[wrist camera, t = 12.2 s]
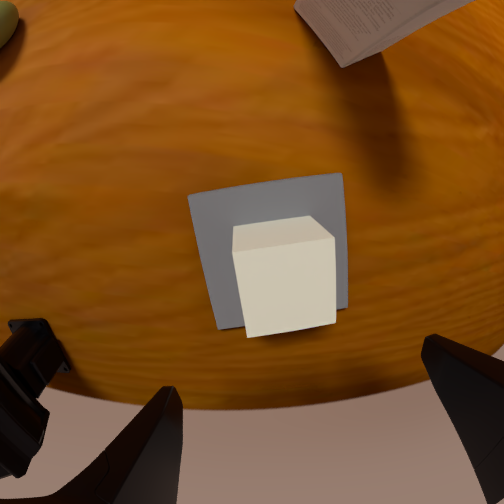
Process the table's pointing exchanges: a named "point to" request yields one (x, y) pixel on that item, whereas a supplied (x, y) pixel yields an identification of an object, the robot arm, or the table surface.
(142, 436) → the robot arm
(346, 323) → the table surface
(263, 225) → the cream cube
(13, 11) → the pear
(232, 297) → the mat
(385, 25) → the skincare box
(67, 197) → the table surface
